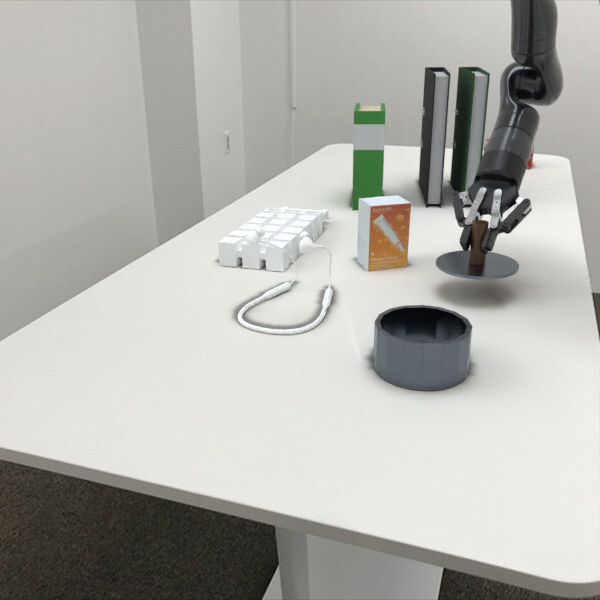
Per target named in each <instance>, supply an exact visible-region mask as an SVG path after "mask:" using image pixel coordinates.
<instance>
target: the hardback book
mask: <svg viewBox="0 0 600 600" xmlns="http://www.w3.org/2000/svg"><path fill="white" fill-rule="evenodd" d="M385 135H386V103H385V102H381V103H380V105H361V103H360V102H356V103H355V106H354V109H353V137H352V138H353V140H352V141H353V143H352V145H353V146H352V147H353V148H352V149H353V150H352V199H351V200H352V201H351V202H352V203H351V207H352V209H351V210H352V211H358V207H359V198H372V197H380V196H384V195H383V193H384V169H385V168H384V166H385V165H384V163H385Z"/></svg>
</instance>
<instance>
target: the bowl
mask: <svg viewBox="0 0 600 600" xmlns="http://www.w3.org/2000/svg"><path fill="white" fill-rule="evenodd" d="M373 324H374V326H373V327H374V329H373V369H374V371H375V372H376V374H377V375H378V376H379V377H380V378H381V379H383V380H384V381H385V382H387V383H389V384H391V385H393V386H396V387H399V388H402V389H407V390H412V391H421V392H433V391H434V392H435V391H443V390H447V389H450V388H453V387H456V386H458V385H460V384H461V383H462V382H464V381H465V379H466V378H467V375H468V370H469V365H470V355H471V346H472V345H471V344H472V335H473V325H472V323H471V322H470V320H469V319H468V318H467V317H466V316H464V315H462V314H461V313H459V312H457V311H455V310H451V309H448V308H444V307H442V306H436V305H435V306H434V305H426V304H412V305H411V304H407V305H400V306H395V307H391V308H388V309H386V310H384V311H382V312H381V313H379V314H378V315H377V317H376V319H374V323H373Z"/></svg>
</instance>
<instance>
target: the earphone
mask: <svg viewBox="0 0 600 600" xmlns="http://www.w3.org/2000/svg"><path fill="white" fill-rule="evenodd" d="M264 235H265V231H264V230H263V229H262V228H261V227H256V228H255V230H254V231H251V232H250V233H249V234H248V235H247V236H246V237H245V241H246V242H247V243H248V244H249V245H251V246H253V247H256V246H258V244H259V243H260V242H261V243H265V244H269V245H272V246H274V247H277V248H279V249H281V250H282V251H284V252H285V253H287V254H288V255H289V256H290V258H291V259H292V260H293V265H294V267H295V275H294V277H293V279H292V281H291V282H289V281H287V282H284V283H282V284H280V285H278V286H276V287H273V288H271V289H269V290H267V291H265V292H264V293H263V294H262V295H261V296H259V297H257V298H255V299H252V300H251V301H250V302H248V303H247V304H245V305H244V306H242V308H241V309H240V310H239V311H238V314H237V321H238V323H239V324H240V325H241V326H243V327H245V328H247V329H249V330H252V331H254V332H259V333H264V334H265V333H266V334H271V335H272V334H273V335H295V334H301V333H304V332H307V331H309V330H312V329H313V328H315V327H316V326H318V325H319V324H320V323H321V322H322V321H323V319H324V318H325V316H326V313H327V310H328V308H330V306H331V301H332V298H333V293H334V290H333V289H332V287H331V282H332V281H331V279H332V276H331V275H332V270H331V269H332V260H333V259H332V258H333V255H332V252H331V251H330V250H329V249H328V248H325V247H324V246H323V245H321V244H316V243H315V242H312V240H311V238H310V235H309V233H307V232H302V233H301V234H300V236H299V238H300V244H299V250H300V252H302V254H305V253H309V252H314V251H315V252H316V251H319V252H320V251H325V252H327V253H328V254H329V264H328V287H327V288H326V289H325V291H324V295H323V299H322V303H321V305H322V308H321V310H320V311H321V312H320V314H319V315H318V317H317V318H316V319H315V320H314V321H313V322H311V323H309V324H306V325H305V326H301V327H298V328H290V329H280V328H279V329H277V328H269V327H262V326H257V325H254V324H251V323H248V322H247V321H245V320H244V319H243V315H244V314H245V313H246V311H248V310H249V309H250V308H251V307H253V306H254V305H257V304H259V303H261V302H262V301H264V300H269V299H272V298H274V297H276V296H278V295H280V294H282V293H284V292H287V291H289V290H291V288H292V285H293V284H294V283H295V280H297V277H298V271H299V269H298V265H297V262H296V260H294V259H293V257H292V256H291V255H290V254H289V253H288V252H287V251H286V250H284V249H283V248H281V247H279V246H277V245H274V244H272V243H268V242H265V241H261V237H263V236H264Z"/></svg>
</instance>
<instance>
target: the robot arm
mask: <svg viewBox="0 0 600 600" xmlns="http://www.w3.org/2000/svg"><path fill="white" fill-rule="evenodd" d="M509 1H510V14H511V15H510V16H511V18H510V19H511V22H510V24H511V25H510V26H511V27H510V54H511V57H512V59H513V61H514V62H511V63H509V64H508V65H507V66H506V67H505V68H504V69H503V71H502V72H501V75H500V81H499V109H498V114H497V117H496V121H495V124H494V126H493V129H492V132H491V135H490V137H489V138H488V139H489V141H488V142H487V145H486V147H485V146H484V147H485V150H484V149H483V155H482V159H481V162H480V164H479V167H478V170H477V173H476V176H475V179H474V182H473V184H472V185H471V186H470V187H469V188H468V191H464V192H461V193H459V192H458V191H452V192H451V199H452V200H451V201H452V205H453V211H454V217H455V220H456V222H457V225H458V227H459V228H462V232H461V234H460V237H459V244H460V247H461V248H462V250H464V251H468V250H470V243H471V231H472V221H474V220H483V218H484V216H486V215H489V216H490V221H489V227H488V228H487V231H486V234H485V237H484V239H483V242H482V245H481V251H482V253H483V254H488V252H493V249H494V246H495V244H496V241H497V238H498V236H499V235H500V234H503V233H504V234H507V235H509V234H511V233H512V232H513V231H514V230H515V229H516V228H517V227H518V225H520V224H521V222H523V220H524V219H526V217H527V216H529V214H531V212H532V210H533V208H532V203H531V200H530V198H523V197H521V196H520V189H521V186H522V183H523V180H524V177H525V174H526V171H527V169H526V168H527V166H528V164H529V159H530V155H531V150H532V145H533V143H534V141H535V138H536V135H537V132H538V129H539V126H540V121H541V117H540V113H539V111H538V110H537V109H536V108H535V107H534V106H536V107H549V106H552V105H553V104H555V103H556V102H557V101H558V100H559V99H560V97H561V95H562V92H563V90H564V73H563V68H562V65H561V61H560V58H559V56H558V51H557V36H558V23H559V22H558V21H559V12H558V6H557V2H556V0H509ZM598 4H599V5H600V0H598ZM468 198H470V200H471V203H472V205H471V206H470V208H469V212H468V214H467V216H465V212H464V208H463V206H464V207H465V206H466V205H467V204H466V200H467V199H468ZM513 206H514V209H513V210H512V211H511V212H510V213H509V214H508V215H507V216H506V217H505V218H504V214H505V213H506V212H507V211H509V209H511V208H512V207H513ZM503 218H504V219H503Z"/></svg>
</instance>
